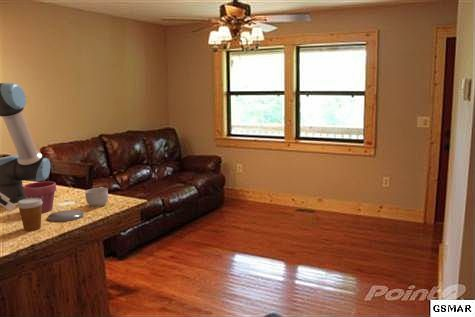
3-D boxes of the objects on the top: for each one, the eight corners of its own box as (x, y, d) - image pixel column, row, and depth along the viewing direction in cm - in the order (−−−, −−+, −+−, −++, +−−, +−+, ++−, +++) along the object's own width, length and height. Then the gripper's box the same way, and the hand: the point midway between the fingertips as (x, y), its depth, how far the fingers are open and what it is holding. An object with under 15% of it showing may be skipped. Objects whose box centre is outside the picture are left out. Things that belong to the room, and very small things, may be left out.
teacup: (101, 208, 203) (100, 192, 202) (81, 207, 205) (80, 191, 204) (115, 201, 216) (114, 186, 215) (96, 200, 219) (95, 185, 217)
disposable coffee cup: (25, 225, 179) (22, 198, 177) (48, 224, 180) (46, 197, 178) (15, 232, 170) (12, 204, 168) (40, 231, 171) (37, 203, 169)
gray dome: (50, 213, 196) (50, 211, 195) (84, 210, 200) (84, 208, 200) (45, 223, 181) (45, 221, 181) (82, 219, 186) (82, 217, 186)
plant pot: (27, 208, 205) (24, 182, 203) (58, 205, 210) (56, 180, 208) (23, 216, 192) (21, 188, 190) (57, 212, 197) (55, 186, 195)
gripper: (-49, 175, 166) (-2, 206, 177) (-44, 186, 146) (9, 220, 157) (-34, 160, 168) (11, 191, 179) (-28, 169, 148) (23, 204, 159)
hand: (10, 205), depth 168 cm, fingers open, 13 cm apart
